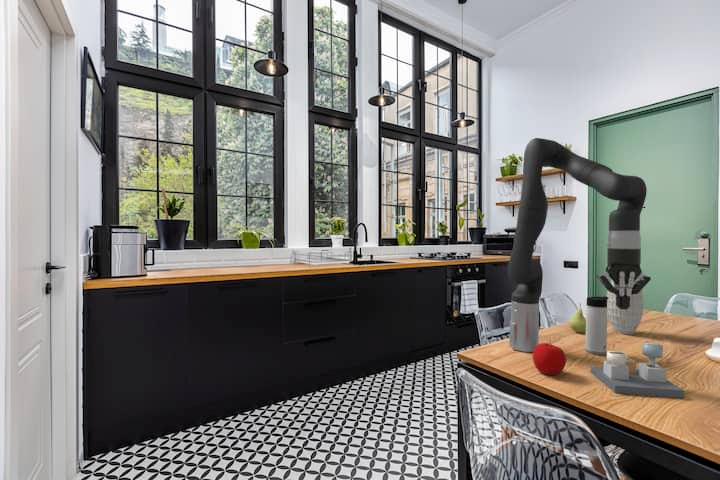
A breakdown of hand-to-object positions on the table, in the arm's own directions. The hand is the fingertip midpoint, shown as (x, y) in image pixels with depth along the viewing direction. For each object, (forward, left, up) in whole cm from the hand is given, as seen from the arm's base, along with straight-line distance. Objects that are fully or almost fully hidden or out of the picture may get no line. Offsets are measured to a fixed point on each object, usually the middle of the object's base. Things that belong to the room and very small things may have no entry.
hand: (622, 308), depth 101 cm
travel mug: (+6, +28, -21) cm, 36 cm away
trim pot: (+4, +5, -19) cm, 20 cm away
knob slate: (+8, 0, -16) cm, 18 cm away
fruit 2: (+11, +56, -21) cm, 61 cm away
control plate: (+3, 0, -21) cm, 21 cm away
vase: (+30, +59, -21) cm, 70 cm away
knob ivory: (-1, 0, -19) cm, 19 cm away
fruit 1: (-17, +5, -21) cm, 28 cm away
